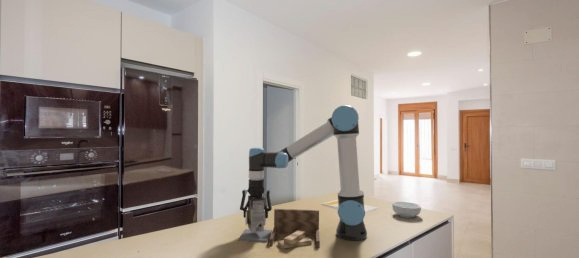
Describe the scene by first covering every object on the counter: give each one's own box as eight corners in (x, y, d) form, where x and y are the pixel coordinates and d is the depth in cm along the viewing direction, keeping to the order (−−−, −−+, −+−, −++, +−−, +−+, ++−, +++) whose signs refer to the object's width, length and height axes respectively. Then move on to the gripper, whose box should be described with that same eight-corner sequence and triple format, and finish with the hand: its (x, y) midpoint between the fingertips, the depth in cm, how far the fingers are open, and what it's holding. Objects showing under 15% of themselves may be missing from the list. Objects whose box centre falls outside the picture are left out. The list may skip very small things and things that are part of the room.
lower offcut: (307, 242, 138) (307, 236, 138) (311, 245, 134) (311, 240, 134) (278, 246, 133) (278, 240, 133) (281, 250, 128) (281, 244, 128)
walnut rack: (318, 233, 147) (319, 210, 148) (319, 247, 130) (319, 221, 130) (274, 231, 149) (274, 208, 149) (269, 245, 131) (269, 219, 131)
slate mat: (271, 231, 149) (271, 230, 149) (267, 242, 136) (267, 240, 136) (245, 230, 151) (245, 229, 151) (238, 240, 137) (238, 239, 137)
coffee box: (247, 227, 146) (247, 195, 146) (259, 225, 148) (260, 194, 149) (251, 233, 138) (251, 199, 138) (264, 231, 140) (264, 198, 140)
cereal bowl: (424, 220, 171) (424, 208, 171) (395, 219, 173) (395, 207, 173) (416, 212, 187) (416, 201, 187) (389, 211, 190) (390, 200, 190)
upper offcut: (298, 235, 140) (298, 230, 140) (305, 236, 138) (305, 231, 138) (283, 244, 129) (283, 238, 129) (291, 246, 127) (291, 240, 127)
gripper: (278, 178, 146) (277, 222, 146) (237, 177, 148) (236, 221, 148) (276, 180, 139) (275, 227, 138) (233, 179, 140) (232, 226, 140)
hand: (255, 224), depth 143 cm, fingers closed on coffee box, 8 cm apart
